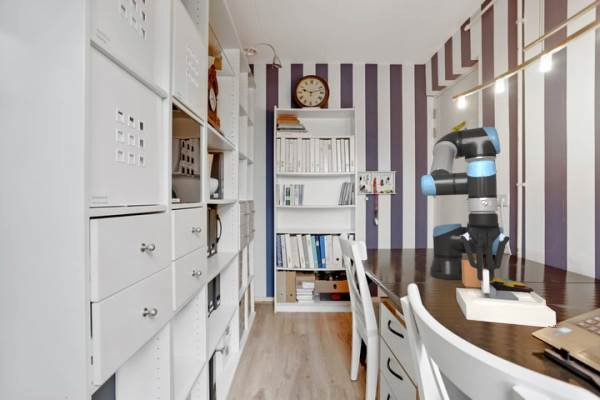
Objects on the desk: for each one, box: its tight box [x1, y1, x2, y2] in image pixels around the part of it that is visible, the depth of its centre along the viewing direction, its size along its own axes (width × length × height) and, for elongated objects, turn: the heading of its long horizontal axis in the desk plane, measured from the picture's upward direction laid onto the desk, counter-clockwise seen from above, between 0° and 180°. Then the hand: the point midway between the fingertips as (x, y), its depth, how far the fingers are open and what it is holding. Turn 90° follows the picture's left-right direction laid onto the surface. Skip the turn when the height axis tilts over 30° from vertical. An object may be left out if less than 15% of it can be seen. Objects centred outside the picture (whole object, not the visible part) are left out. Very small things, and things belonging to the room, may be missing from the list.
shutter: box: [486, 284, 519, 301], centre depth 86 cm, size 6×6×3 cm
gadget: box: [489, 277, 534, 294], centre depth 102 cm, size 6×13×6 cm, turn 76°
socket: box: [455, 287, 557, 328], centre depth 87 cm, size 18×20×6 cm
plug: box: [461, 259, 482, 290], centre depth 102 cm, size 6×6×12 cm
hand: (485, 291), depth 88 cm, fingers closed
